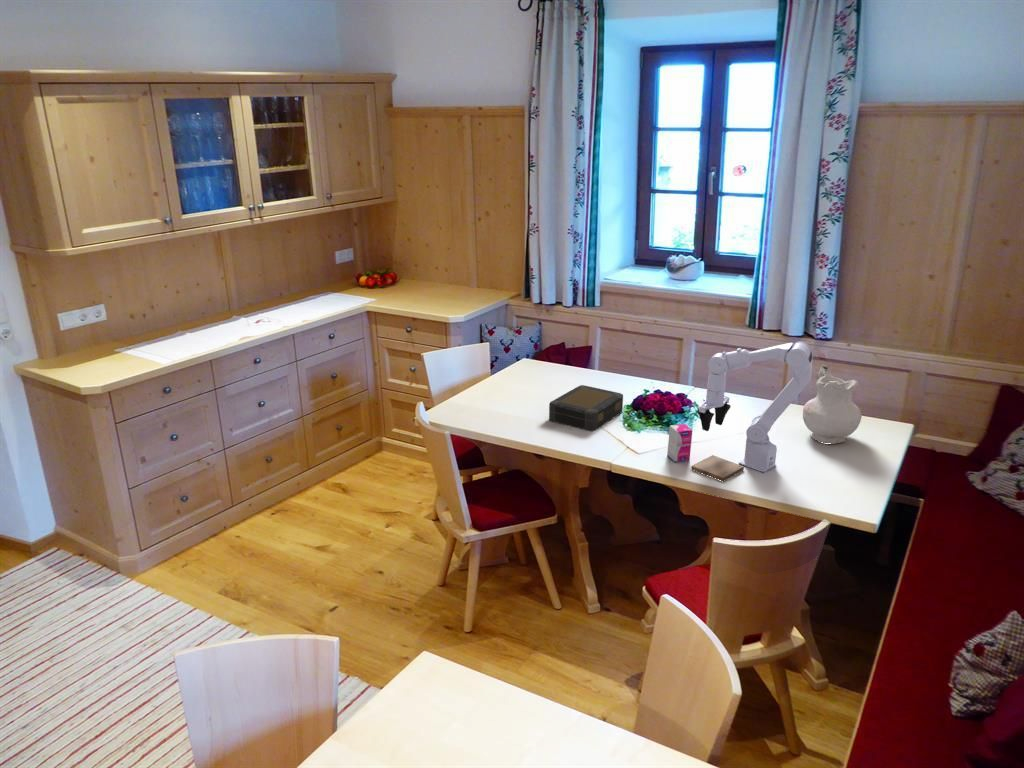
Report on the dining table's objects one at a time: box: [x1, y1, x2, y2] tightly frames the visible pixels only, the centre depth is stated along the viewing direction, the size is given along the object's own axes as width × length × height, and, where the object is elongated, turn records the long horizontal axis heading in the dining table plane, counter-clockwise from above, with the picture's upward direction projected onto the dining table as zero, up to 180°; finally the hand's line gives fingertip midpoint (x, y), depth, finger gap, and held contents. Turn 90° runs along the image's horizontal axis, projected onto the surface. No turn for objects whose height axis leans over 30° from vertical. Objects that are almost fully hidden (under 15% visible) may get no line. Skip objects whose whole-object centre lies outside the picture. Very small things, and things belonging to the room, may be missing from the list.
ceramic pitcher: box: [802, 363, 863, 445], centre depth 279 cm, size 22×20×25 cm
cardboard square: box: [690, 454, 745, 482], centre depth 258 cm, size 12×12×2 cm
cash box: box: [548, 384, 624, 432], centre depth 302 cm, size 25×20×8 cm
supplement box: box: [666, 423, 693, 463], centre depth 264 cm, size 6×6×12 cm
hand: (712, 427), depth 265 cm, fingers open, 7 cm apart
